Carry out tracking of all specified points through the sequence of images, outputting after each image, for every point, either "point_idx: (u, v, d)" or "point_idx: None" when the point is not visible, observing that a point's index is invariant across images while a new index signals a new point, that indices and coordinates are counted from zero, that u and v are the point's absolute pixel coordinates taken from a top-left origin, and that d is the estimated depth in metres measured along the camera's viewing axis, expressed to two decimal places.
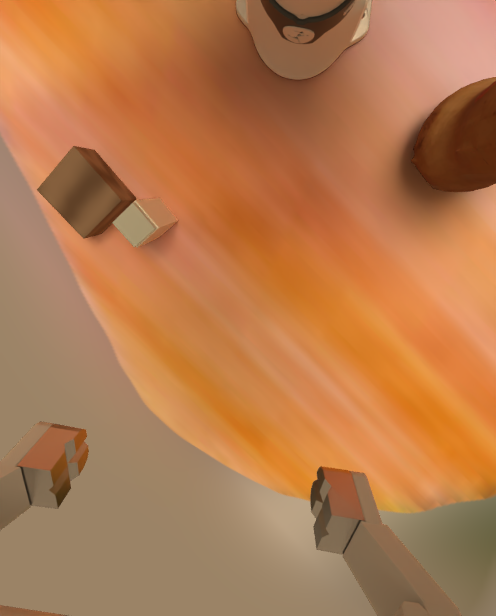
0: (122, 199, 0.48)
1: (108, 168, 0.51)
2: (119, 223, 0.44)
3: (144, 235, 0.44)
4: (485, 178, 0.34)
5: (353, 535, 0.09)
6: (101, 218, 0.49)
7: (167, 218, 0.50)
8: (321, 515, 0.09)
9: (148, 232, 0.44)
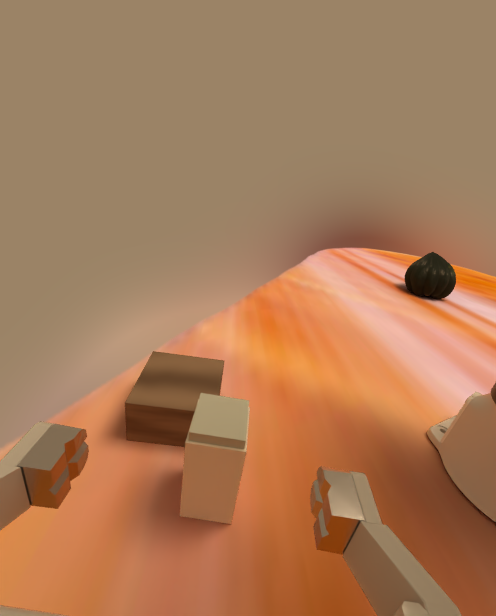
0: None
1: None
2: (208, 399, 0.27)
3: (221, 434, 0.24)
4: None
5: (353, 536, 0.09)
6: (172, 407, 0.33)
7: None
8: (321, 515, 0.09)
9: (231, 436, 0.24)
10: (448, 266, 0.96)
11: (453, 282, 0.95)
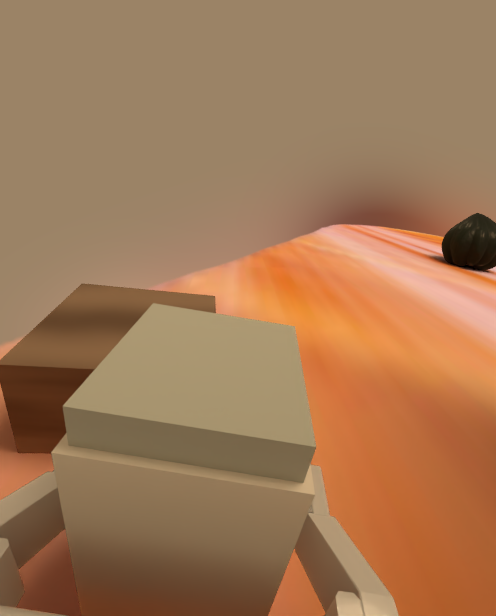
0: None
1: None
2: (171, 317, 0.09)
3: (207, 418, 0.06)
4: None
5: (302, 528, 0.09)
6: None
7: None
8: None
9: (250, 428, 0.05)
10: None
11: None
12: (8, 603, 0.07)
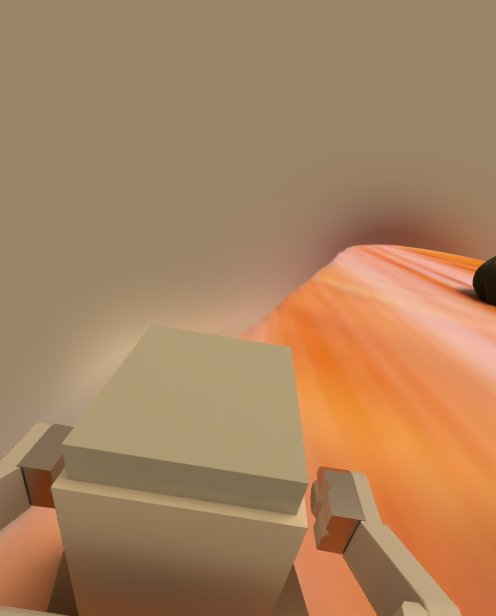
0: None
1: None
2: (169, 341, 0.09)
3: (203, 454, 0.06)
4: None
5: (353, 536, 0.09)
6: None
7: None
8: (321, 515, 0.09)
9: (244, 464, 0.06)
10: None
11: None
12: None
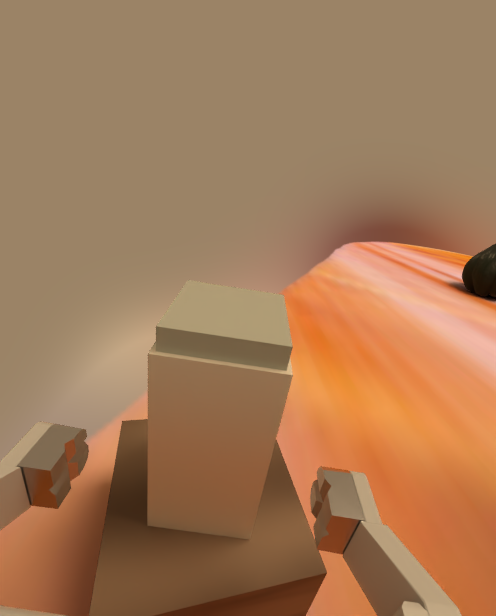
0: None
1: None
2: (202, 288, 0.13)
3: (233, 334, 0.10)
4: None
5: (353, 536, 0.09)
6: (221, 591, 0.12)
7: None
8: (321, 515, 0.09)
9: (256, 338, 0.10)
10: None
11: None
12: None
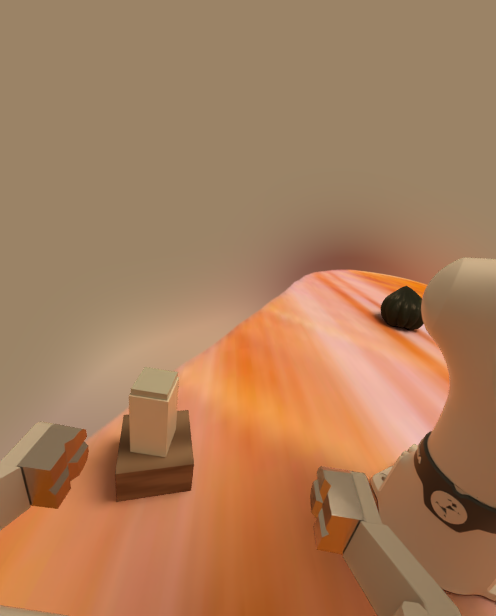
0: None
1: None
2: (148, 371, 0.40)
3: (152, 390, 0.37)
4: None
5: (353, 536, 0.09)
6: (156, 467, 0.40)
7: (169, 430, 0.40)
8: (321, 515, 0.09)
9: (158, 392, 0.37)
10: (420, 301, 1.02)
11: None
12: None
